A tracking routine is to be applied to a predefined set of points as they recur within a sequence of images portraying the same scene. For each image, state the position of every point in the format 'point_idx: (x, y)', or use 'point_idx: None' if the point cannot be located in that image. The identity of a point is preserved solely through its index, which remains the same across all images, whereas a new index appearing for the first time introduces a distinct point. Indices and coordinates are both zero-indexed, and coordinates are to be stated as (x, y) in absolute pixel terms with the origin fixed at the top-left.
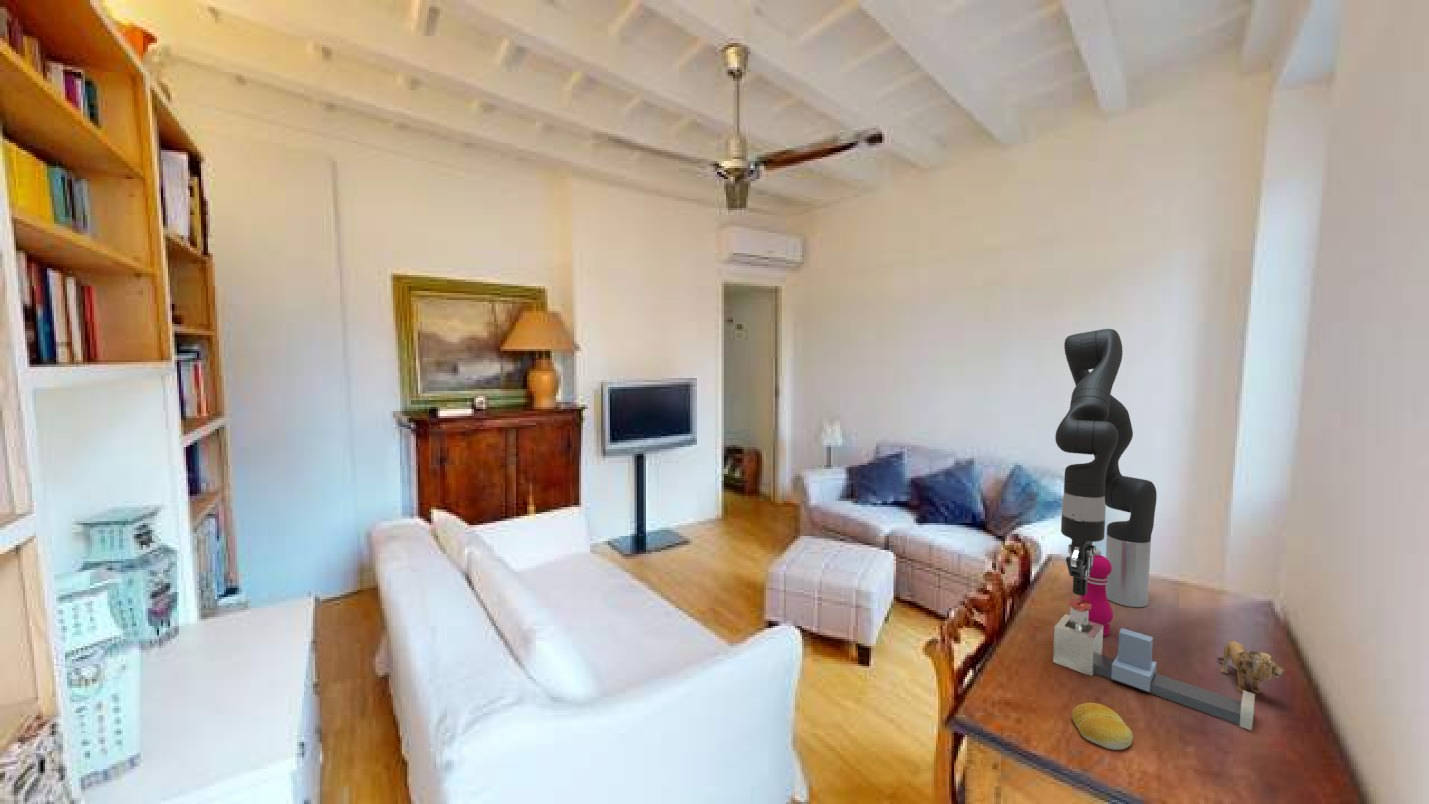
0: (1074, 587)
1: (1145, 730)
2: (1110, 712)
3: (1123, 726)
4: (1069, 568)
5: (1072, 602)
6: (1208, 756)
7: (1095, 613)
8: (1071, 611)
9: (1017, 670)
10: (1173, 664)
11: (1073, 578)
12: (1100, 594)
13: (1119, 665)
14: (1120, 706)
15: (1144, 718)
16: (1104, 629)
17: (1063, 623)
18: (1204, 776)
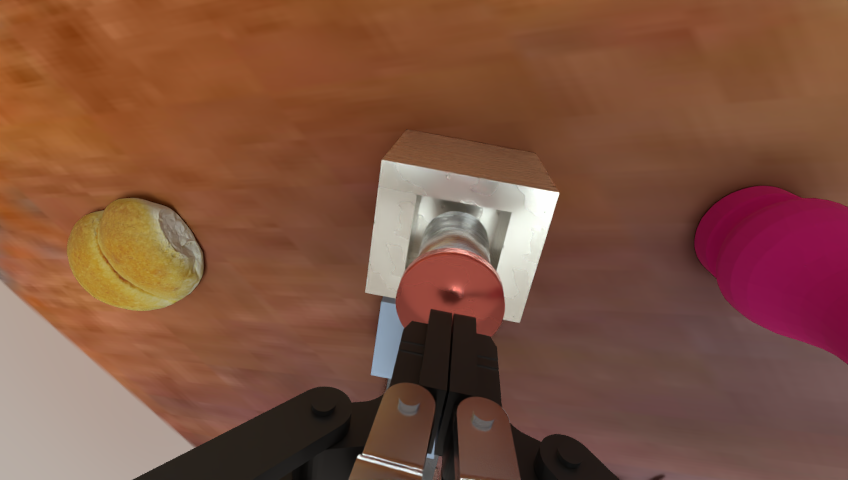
0: (403, 340)
1: (227, 323)
2: (142, 286)
3: (123, 304)
4: (181, 465)
5: (422, 275)
6: (227, 399)
7: (736, 279)
8: (432, 247)
9: (274, 28)
10: (591, 399)
11: (422, 373)
12: (826, 342)
13: (387, 317)
14: (286, 286)
15: (273, 325)
16: (715, 275)
17: (443, 191)
18: (160, 386)
